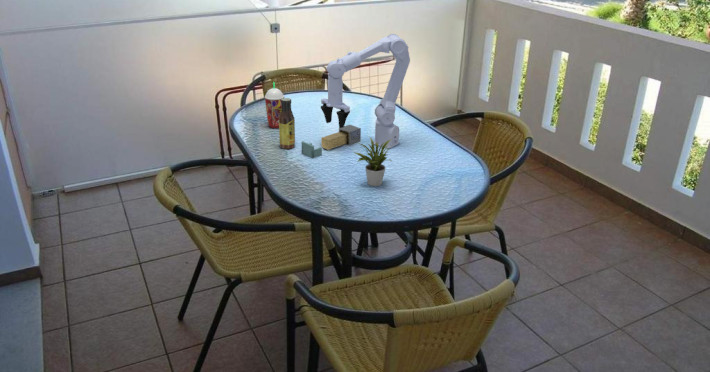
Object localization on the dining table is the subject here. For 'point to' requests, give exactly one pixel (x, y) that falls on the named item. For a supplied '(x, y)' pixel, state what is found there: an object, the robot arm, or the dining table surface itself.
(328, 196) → the dining table surface
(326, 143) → the block
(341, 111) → the robot arm
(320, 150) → the socket
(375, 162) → the house plant
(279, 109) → the smoothie
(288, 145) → the sauce bottle
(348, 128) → the sleeve
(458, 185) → the dining table surface
